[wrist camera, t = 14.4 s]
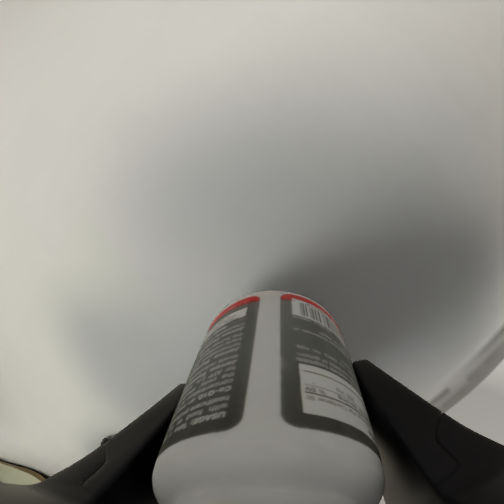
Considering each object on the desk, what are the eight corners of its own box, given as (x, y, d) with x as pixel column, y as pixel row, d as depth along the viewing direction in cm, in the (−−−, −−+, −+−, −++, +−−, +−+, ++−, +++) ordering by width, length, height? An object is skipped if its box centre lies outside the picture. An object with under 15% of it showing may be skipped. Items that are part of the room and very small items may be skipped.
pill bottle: (218, 398, 11) (166, 594, 3) (195, 290, 10) (55, 531, 2) (339, 392, 11) (372, 597, 3) (344, 280, 9) (455, 547, 1)
